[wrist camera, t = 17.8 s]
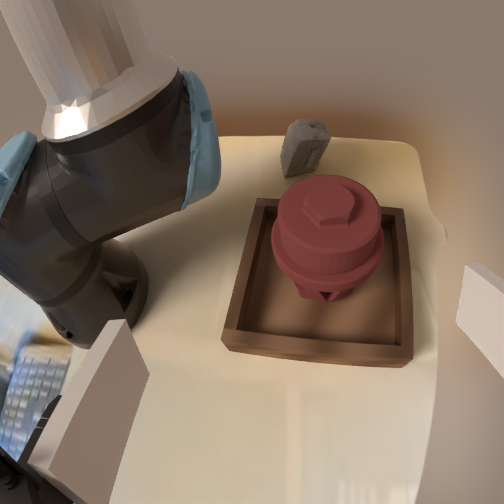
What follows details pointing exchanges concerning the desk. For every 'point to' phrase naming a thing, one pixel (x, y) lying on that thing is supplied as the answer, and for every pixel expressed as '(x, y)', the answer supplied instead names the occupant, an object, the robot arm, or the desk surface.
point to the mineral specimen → (303, 147)
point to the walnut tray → (322, 305)
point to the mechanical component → (327, 236)
